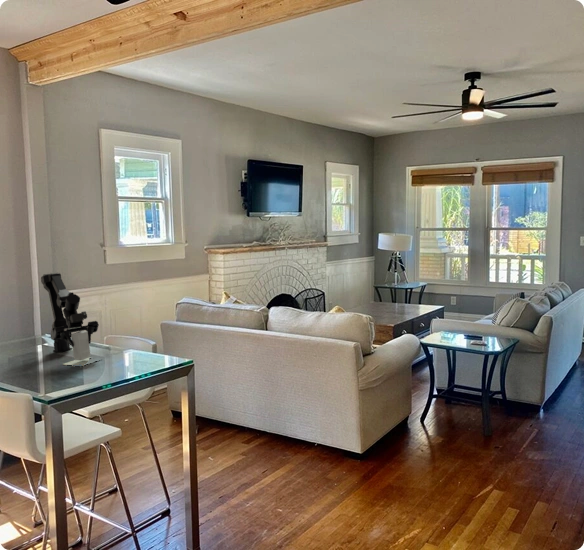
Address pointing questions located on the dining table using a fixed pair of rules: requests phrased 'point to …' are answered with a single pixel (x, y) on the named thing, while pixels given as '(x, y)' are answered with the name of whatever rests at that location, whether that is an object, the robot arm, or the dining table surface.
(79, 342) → the skincare box
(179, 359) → the dining table surface
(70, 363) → the mat
